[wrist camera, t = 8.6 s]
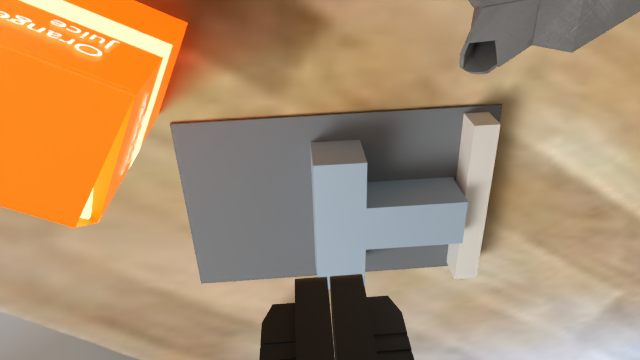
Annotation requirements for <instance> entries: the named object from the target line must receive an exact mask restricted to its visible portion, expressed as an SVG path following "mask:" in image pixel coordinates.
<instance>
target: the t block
mask: <svg viewBox="0 0 640 360" xmlns="http://www.w3.org/2000/svg"><path fill="white" fill-rule="evenodd" d="M310 150H311V173H312V196H313V219H314V242H315V262H316V273H317V277H327V281H328V290H330V276H341V275H354V274H362V277H363V281H364V287H365V257H366V250H369V249H384V248H399V247H414V246H429V245H444V244H459V243H463V236H464V228H465V221H466V214H467V207H468V201H467V199H466V198H465V196H464V194H463V193H462V191H461V190H460V188H459V186H458V185H457V183H456V181H455V180H454V178H453V177H445V178H429V179H412V180H396V181H379V182H367V160H366V157H365V154H364V151H363V148H362V145H361V142H360V140H345V141H327V142H310Z"/></svg>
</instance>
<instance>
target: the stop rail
mask: <svg viewBox="0 0 640 360" xmlns="http://www.w3.org/2000/svg"><path fill="white" fill-rule="evenodd" d="M500 125H501V124H500V123H499V122H498V121H497V120H496V119H495V118H494V117H493V116H492V115H491V114H490V113H489V112H477V113H464V117H463V125H462V134H461V142H460V151H459V159H458V168H457V177H456V183H457V185H458V186H459V188H460V190H461V191H462V193H463V194H464V196H465V198H466V199H467V201H468V207H467V214H466V221H465V228H464V236H463V243H459V244H449V245H448V254H447V264H448V266H449V268H450V271H451V273H452V275H453V277H454V279H468V278H476V277H477V271H478V265H479V258H480V252H481V246H482V239H483V233H484V227H485V220H486V214H487V208H488V201H489V195H490V189H491V182H492V176H493V170H494V163H495V157H496V151H497V144H498V138H499V132H500Z"/></svg>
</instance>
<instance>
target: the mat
mask: <svg viewBox="0 0 640 360" xmlns="http://www.w3.org/2000/svg"><path fill="white" fill-rule="evenodd" d="M501 108H502V105H501V104H496V105H479V106H462V107H445V108H427V109H410V110H393V111H376V112H358V113H341V114H324V115H306V116H289V117H272V118H255V119H237V120H220V121H203V122H186V123H170V128H171V133H172V138H173V143H174V148H175V153H176V158H177V163H178V168H179V173H180V178H181V183H182V188H183V193H184V198H185V203H186V208H187V213H188V218H189V223H190V228H191V234H192V239H193V244H194V249H195V254H196V259H197V264H198V269H199V274H200V279H201V283H215V282H229V281H243V280H257V279H271V278H285V277H299V276H313V275H317V273H316V262H315V242H314V219H313V196H312V173H311V150H310V142H327V141H345V140H360V142H361V145H362V148H363V151H364V154H365V157H366V160H367V182H379V181H396V180H412V179H429V178H445V177H453V178H454V180H455V181H456V177H457V168H458V159H459V151H460V142H461V134H462V125H463V117H464V113H477V112H489V113H490V114H491V115H492V116H493V117H494V118H495V119H496V120H497V121H498V122H499V121H500V115H501ZM448 245H449V244H444V245H429V246H414V247H399V248H384V249H369V250H366V257H365V272H369V271H383V270H396V269H410V268H424V267H438V266H448V264H447V254H448Z"/></svg>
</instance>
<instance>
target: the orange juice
mask: <svg viewBox="0 0 640 360" xmlns="http://www.w3.org/2000/svg"><path fill="white" fill-rule="evenodd" d="M187 24H188V23H187V22H184V21H182V20H180V19H177V18H175V17H172V16H170V15H168V14H165V13H163V12H161V11H158V10H156V9H153V8H151V7H149V6H146V5H144V4H142V3H139V2H137V1H135V0H0V206H2V207H6V208H9V209H12V210H16V211H19V212H23V213H26V214H29V215H33V216H36V217H39V218H43V219H46V220H50V221H53V222H56V223H60V224H63V225H67V226H70V227H73V228H76V227H80V226H85V225H89V224H94V223H97V222H98V223H99V221H100V219H101V217H102V216H103V214H104V212H105V210H106V208H107V207H108V205H109V203H110V201H111V199H112V197H113V196H114V194H115V192H116V190H117V188H118V187H119V185H120V183H121V181H122V179H123V178H124V176H125V174H126V172H127V170H128V169H129V168H130V167H131V165H132V163H133V161H134V159H135V158H136V156H137V154H138V152H139V150H140V147H141V145H142V143H143V141H144V140H145V138H146V136H147V134H148V132H149V131H150V129H151V127H152V125H153V123H154V122H155V120H156V118H157V116H158V114H159V111H160V108H161V105H162V102H163V99H164V96H165V92H166V89H167V86H168V83H169V80H170V77H171V74H172V71H173V68H174V65H175V61H176V58H177V55H178V52H179V49H180V46H181V43H182V40H183V37H184V34H185V30H186V27H187ZM87 219H88V220H87ZM90 220H91V221H90ZM94 221H95V222H94Z"/></svg>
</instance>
